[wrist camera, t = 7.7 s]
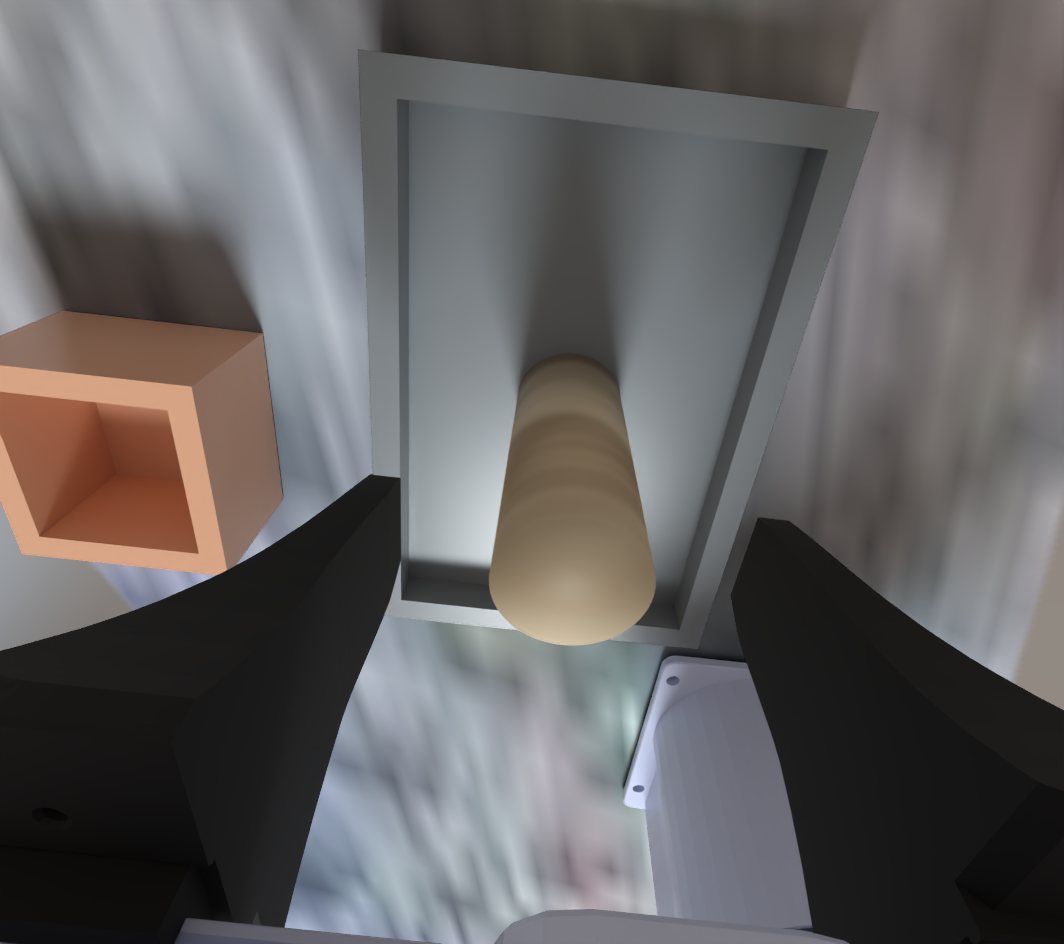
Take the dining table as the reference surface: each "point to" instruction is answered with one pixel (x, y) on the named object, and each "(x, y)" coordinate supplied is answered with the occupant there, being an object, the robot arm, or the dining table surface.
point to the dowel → (571, 511)
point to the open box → (136, 441)
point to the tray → (585, 298)
